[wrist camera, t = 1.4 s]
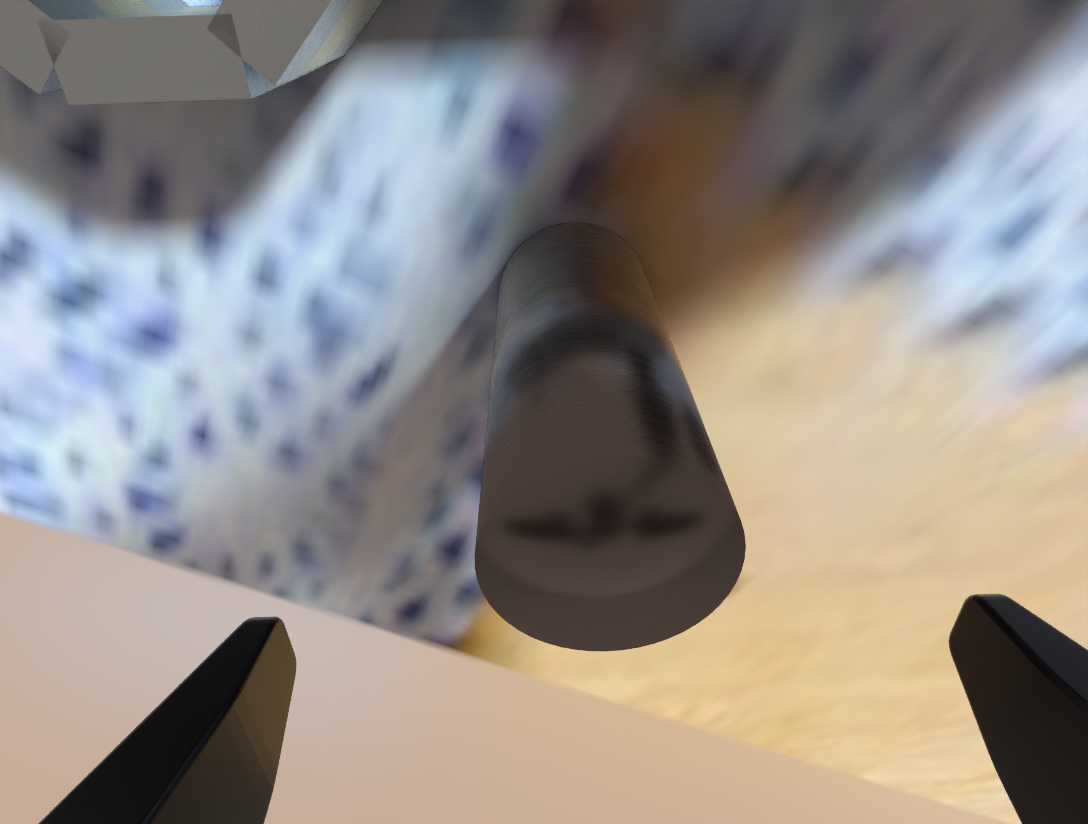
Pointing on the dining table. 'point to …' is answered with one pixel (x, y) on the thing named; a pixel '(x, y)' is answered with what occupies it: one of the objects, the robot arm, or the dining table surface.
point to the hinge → (172, 46)
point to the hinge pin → (596, 457)
